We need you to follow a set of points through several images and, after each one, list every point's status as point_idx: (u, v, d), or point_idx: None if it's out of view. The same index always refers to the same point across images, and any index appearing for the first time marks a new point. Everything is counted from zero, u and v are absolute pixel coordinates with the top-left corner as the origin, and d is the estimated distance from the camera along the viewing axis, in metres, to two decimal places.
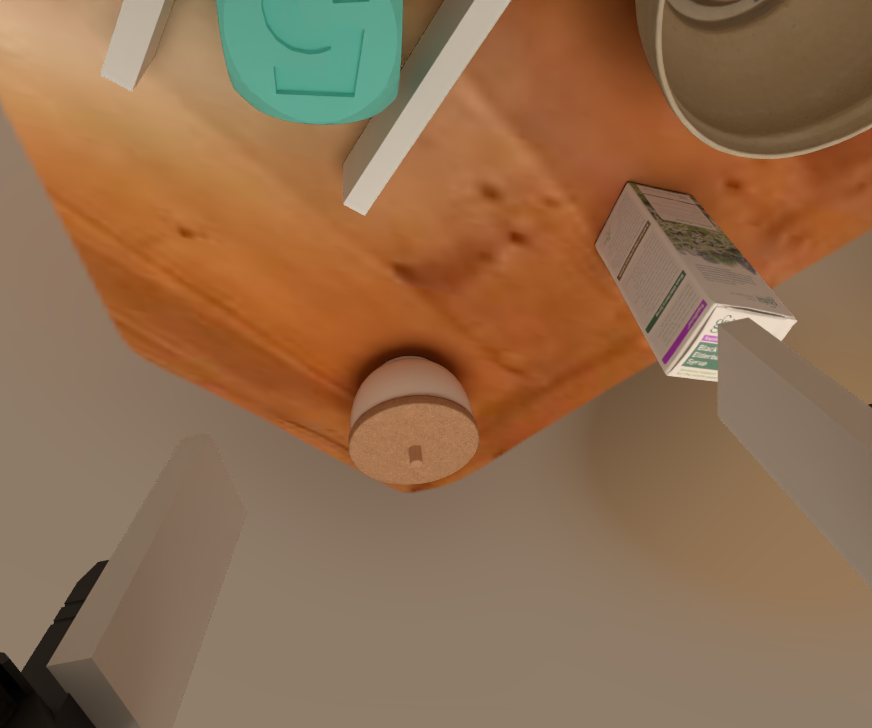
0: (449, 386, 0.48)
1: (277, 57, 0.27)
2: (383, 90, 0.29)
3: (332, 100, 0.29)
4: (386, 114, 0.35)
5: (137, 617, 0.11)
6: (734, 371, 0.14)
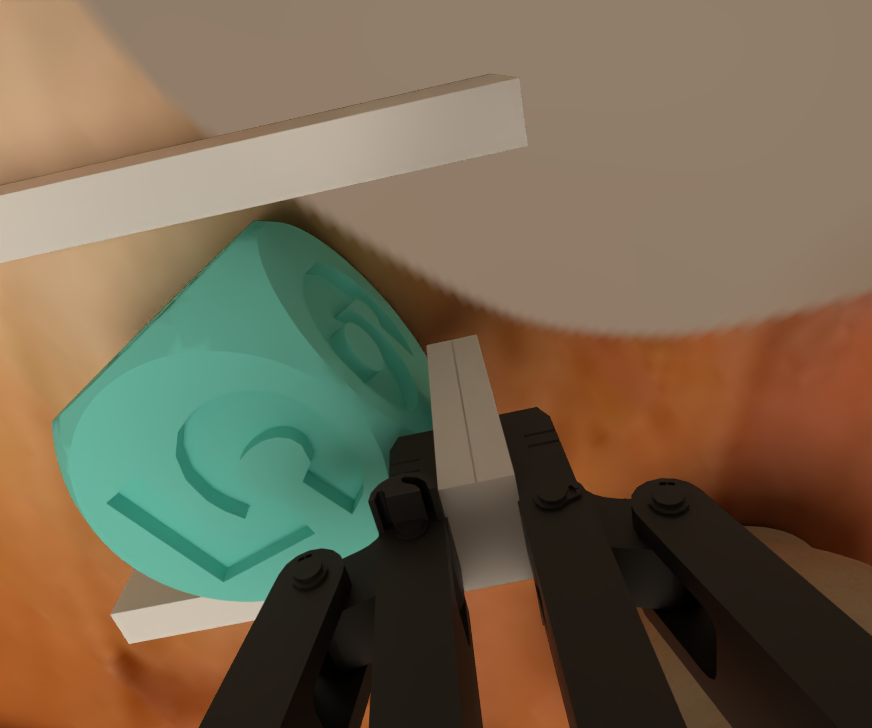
0: None
1: (155, 472, 0.14)
2: None
3: (187, 565, 0.16)
4: None
5: None
6: None
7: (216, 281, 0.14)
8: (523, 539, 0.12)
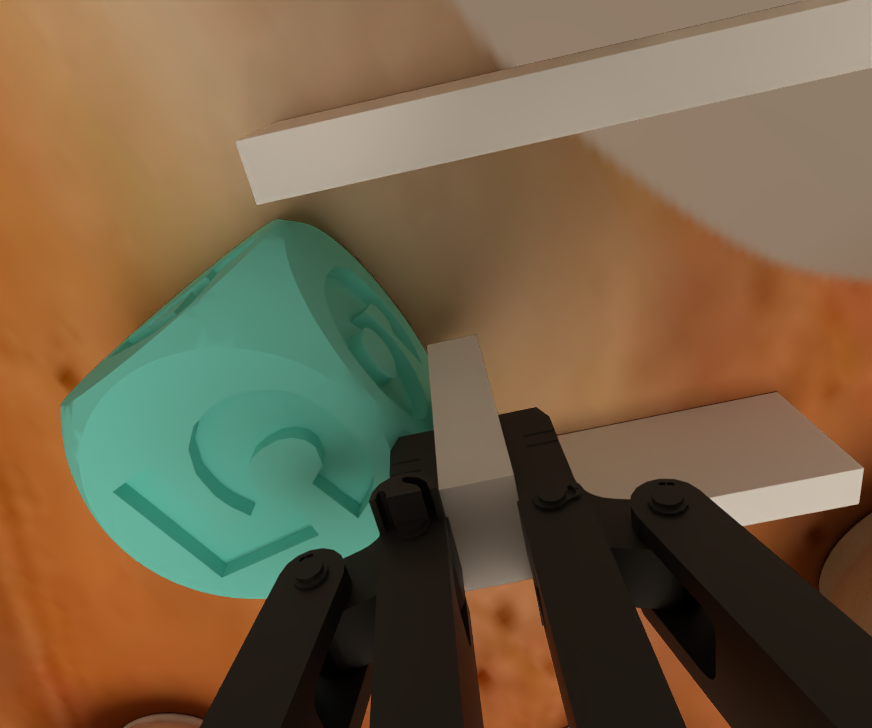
0: None
1: (166, 464, 0.14)
2: None
3: (187, 558, 0.16)
4: None
5: None
6: None
7: (243, 279, 0.14)
8: (522, 539, 0.12)
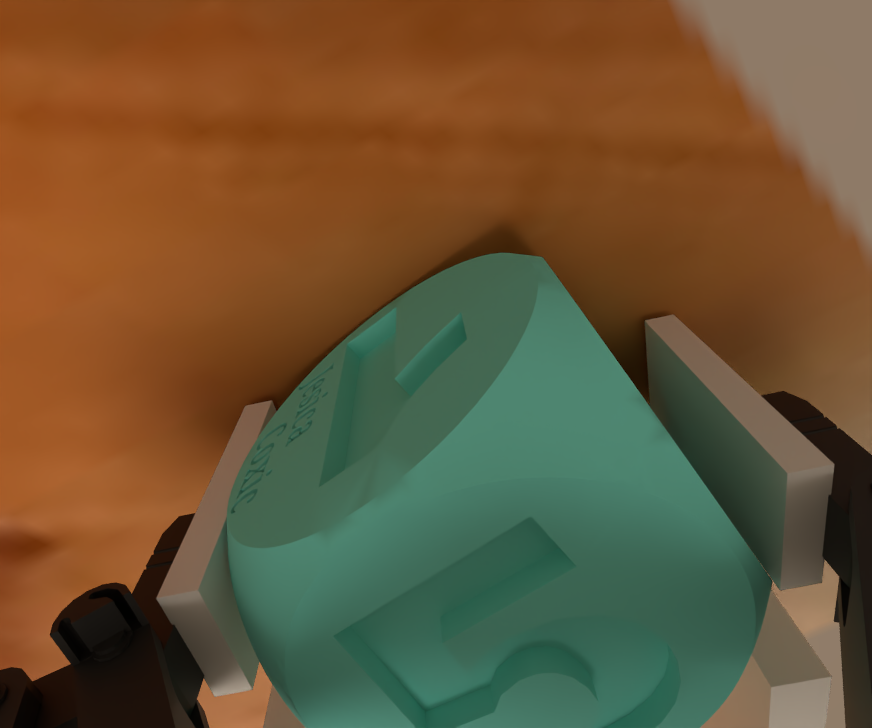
0: None
1: (576, 588, 0.09)
2: (280, 679, 0.10)
3: (376, 597, 0.09)
4: None
5: None
6: (658, 364, 0.15)
7: None
8: (823, 538, 0.10)
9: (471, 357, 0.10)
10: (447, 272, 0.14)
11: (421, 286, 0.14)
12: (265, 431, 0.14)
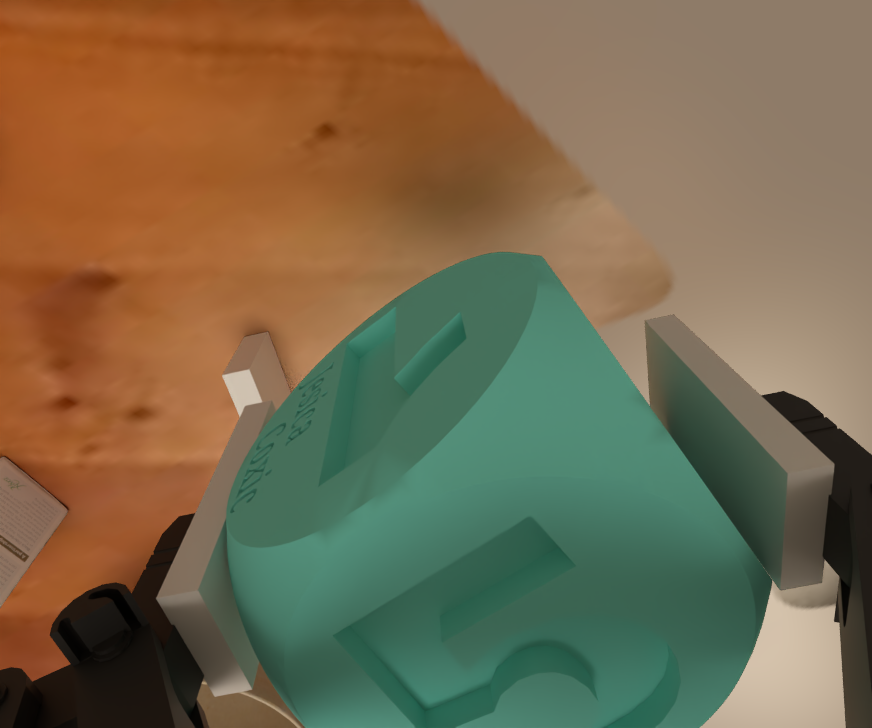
0: None
1: (577, 587, 0.09)
2: (280, 679, 0.10)
3: (376, 596, 0.09)
4: None
5: None
6: (658, 364, 0.15)
7: None
8: (823, 538, 0.10)
9: (470, 356, 0.10)
10: (446, 272, 0.14)
11: (421, 286, 0.14)
12: (265, 431, 0.14)
